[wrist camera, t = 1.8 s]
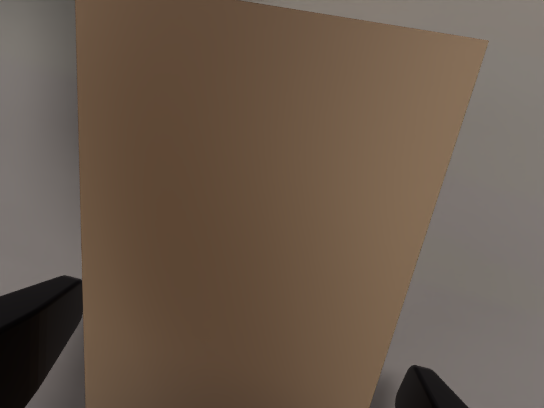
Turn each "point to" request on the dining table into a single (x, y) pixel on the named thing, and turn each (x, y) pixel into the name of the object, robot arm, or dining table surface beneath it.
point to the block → (254, 197)
